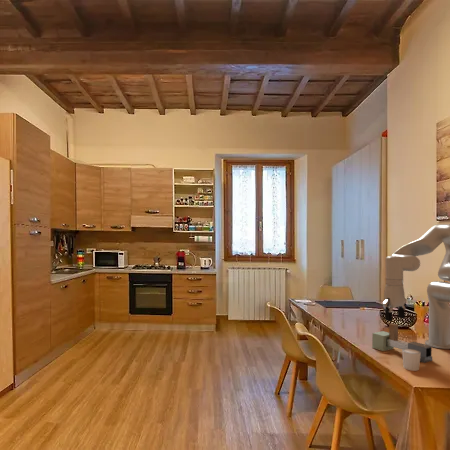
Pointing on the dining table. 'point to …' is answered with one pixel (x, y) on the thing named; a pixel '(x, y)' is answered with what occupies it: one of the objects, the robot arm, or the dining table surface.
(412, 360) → the shot glass
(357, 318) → the dining table surface
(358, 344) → the dining table surface
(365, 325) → the dining table surface
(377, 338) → the socket block
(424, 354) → the sleeve
